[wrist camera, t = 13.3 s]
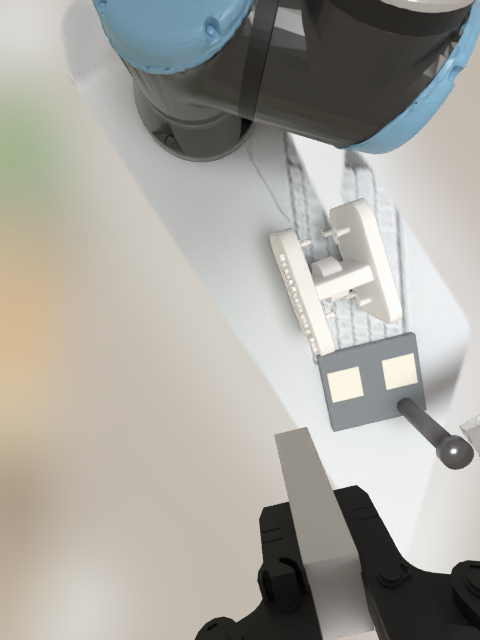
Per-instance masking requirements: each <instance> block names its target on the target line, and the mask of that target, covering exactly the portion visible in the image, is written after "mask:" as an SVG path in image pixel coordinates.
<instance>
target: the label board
mask: <svg viewBox="0 0 480 640" xmlns="http://www.w3.org/2000/svg"><path fill="white" fill-rule="evenodd" d="M317 359H318V364H319V369H320V373H321V378H322V383H323V388H324V392H325V397H326V402H327V406H328V411H329V416H330V421H331V425H332V429H333V431H334V432H336V431H340V430H344V429H348V428H352V427H357V426H361V425H365V424H369V423H374V422H378V421H382V420H386V419H390V418H395V417H399V416H404V417H405V418H406V419H407V420H408V421H409V422H410V423H411V424H412V425H413V426H414V427H415V428H416V429H417V430H418V431H419V432H420V433H421V434H422V435H423V436H424V437H425V438H426V439H427V440H428V441H429V442H430V443H431V444H432V445H433V446H434V447H435V448H436V449H437V446H438V444H439V442H440V441H441V440H442V439H444V438H445V437H448V436H451V435H450V434H449V433H448V432H447V431H446V430H445V429H444V428H442V427H441V426H440V425H439V424H438V423H437V422H436V421H434V420H433V419H432V418H431V417H430V416H429V415H428V414H426V413H425V412H424V410H426V404H425V397H424V390H423V384H422V377H421V370H420V363H419V356H418V349H417V342H416V336H415V334H414V333H412V332H411V333H407V334H403V335H399V336H394V337H390V338H386V339H382V340H378V341H374V342H370V343H366V344H362V345H358V346H353V347H349V348H345V349H341V350H337V351H334V352H331V353H329V354H326V355H323V356H320V355H317Z"/></svg>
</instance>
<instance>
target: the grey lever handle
mask: <svg viewBox="0 0 480 640" xmlns="http://www.w3.org/2000/svg"><path fill="white" fill-rule="evenodd" d="M460 428H461V430H462V432H463V434H464V436H465V438H466V439H467V441H468V442H467V441H465V440H464V439H463V438H462V437H460V436H456V435H451V436H448V437H445V438H444V439H442V440H441V441H440V442H439V444H438V446H437V449H436V454H437V456H438V458H439V459H440V460H441V461H442V462H443V463H444V464H445V465H446V466H447V467H448V468H450V469H454V470H456V469H461V468H464V467H466V466H467V465H469V464H470V462H471V461H472V459H473V457H474V455H475V456H476V457H477V458H478V459H479V460H480V415H478V416H476V417H474V418H472V419H471V420H469V421H467V422H465V423H463V424H462V425H460Z"/></svg>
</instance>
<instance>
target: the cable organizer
mask: <svg viewBox="0 0 480 640" xmlns="http://www.w3.org/2000/svg"><path fill="white" fill-rule="evenodd" d="M330 221H331V225H332V230H329V231H327V232H323V231H322V230H321V233H320V234H321V235H322V238H323V241H324V239H325V240H326V237H329V236H331V235H332V238H333V240H334V242H335V245H337V244H338V247H339V250H340V253H341V256H342V259H343V261H341V262H338V261H337V260H336V259H335V258H334V257H332V256H330V257H327V258H325V259H322V260H319V261H317V262H314V263H312V265H311V269H312V273H310V270H309V267H308V264H307V261H306V258H305V255H304V252H303V249H302V248H303V247H305V246H308V245H309V246H310V248H311V247H312V248H313V246H312V243H311V239H309V237H308V235H307V237H308V239H307V240H304V241H302V240H301V239H300V237H299V239H298V237H297V235H296V234H295V232H294V231H293V229H291V228H290V229H286V230H282V231H279V232H277V233H274V234H272V235H270V243H271V247H272V250H273V253H274V256H275V259H276V261H277V264H278V267H279V270H280V272H281V275H282V278H283V281H284V283H285V286H286V289H287V292H288V294H289V297H290V300H291V303H292V305H293V308H294V311H295V314H296V316H297V319H298V322H299V325H300V327H301V329H302V331H303V333H304V335H305V337H306V338H307V339H308V341H309V343H310V344H311V348H312V350H313V352H316V351H317V352H318V353H319V355H320V356H323V355H326V354H329V353H331V352H334V351H335V344H334V340H333V336H332V333H331V331H330V328H329V325H328V322H327V319H329V318H332V317H336V312H335V311H334V310H333V308H332V306H331V308H332V309H330V310H331V312H329V313H326V314H325V313H324V310H325V307H324V304H323V303H322V300H324V299H325V300H326V301H327V302H329V303H331V302H333V301H336V300H338V299H340V298H342V297H343V298H344V301H345V300H346V301H347V299H350V298H352V297H355V299H356V300H354V301H355V303H356V304H357V308H358V307H359V308H360V309H361V310H362V311H364V312H366V313H368V314H370V315H372V316H374V317H376V318H377V319H379V320H381V321H383V322H385V323H387V324H390V323H393V322H395V321H398V320H400V319H401V318H402V307H401V303H400V300H399V296H398V293H397V290H396V286H395V283H394V279H393V276H392V273H391V269H390V266H389V262H388V259H387V256H386V252H385V249H384V246H383V242H382V239H381V235H380V232H379V229H378V225H377V222H376V218H375V215H374V212H373V210H372V208H371V206H370V204H369V203H368V202H367V200H365V199H364V198H361V199H358V200H355V201H352V202H349V203H346V204H344V205H341V206H338V207H336V208H333V209H331V210H330ZM350 289H352V291H353V292H351V293H349V290H350ZM320 301H321V302H320ZM347 303H348V302H347ZM323 309H324V310H323ZM336 319H337V317H336Z"/></svg>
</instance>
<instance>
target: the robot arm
mask: <svg viewBox="0 0 480 640" xmlns="http://www.w3.org/2000/svg"><path fill="white" fill-rule="evenodd" d="M92 1H93V4H94V6H95V8H96V11H97V13H98V15H99V17H100V20H101V23H102V27H103V29H104V32H105V35H106V36H107V37H108V39H109V42H110V44H111V45H112V47H113V48H114V50H115V51H116V52H117V54H118V55H119V56H120V58H121V60H122V61H123V63H124V64H125V66H126V67H127V69H128V71H129V72H130V74H131V75H132V77H133V78H134V96H135V101H136V105H137V109H138V112H139V114H140V117H141V119H142V121H143V123H144V125H145V126H146V128H147V129H148V131H149V132H150V134H151V135H152V136H153V138H154V139H155V140H156V141H157V142H158V143H159V144H160V145H161V146H162V147H163V148H164V149H166V150H167V151H168V152H170V153H171V154H173V155H175V156H177V157H179V158H182V159H185V160H189V161H194V162H208V161H214V160H218V159H221V158H223V157H225V156H227V155H229V154H231V153H232V152H234V151H235V150H236V149H238V148H239V147H240V146H241V145H242V144H243V143H244V142H245V140H246V139H247V138H248V136H249V135H250V133H251V132H252V130H253V128H254V126H255V123H256V122H257V123H261V124H264V125H267V126H270V127H274V128H277V129H280V130H284V131H287V132H290V133H294V134H297V135H300V136H304V137H307V138H311V139H314V140H317V141H320V142H324V143H327V144H330V145H333V146H335V147H336V148H338V149H343V150H356V151H361V152H365V153H369V154H383V153H387V152H389V151H392V150H394V149H396V148H398V147H400V146H401V145H403V144H404V143H406V142H407V141H408V140H410V139H411V138H412V137H413V136H414V135H415V134H417V133H418V132H419V131H420V130H421V129H422V128H423V127H424V125H426V123H427V122H428V121H429V120H430V119H431V118H432V116H433V115H434V114H435V113H436V112H437V110H438V109H439V108H440V106H441V105H442V104H443V102H444V101H445V99H446V98H447V96H448V95H449V94H450V92H451V91H452V89H453V87H454V83H453V82H454V79H455V77H456V75H457V74H458V73H459V72H460V71H461V70H463V69H464V68H465V66H466V64H467V62H468V60H469V58H470V56H471V54H472V51H473V49H474V47H475V44H476V41H477V38H478V35H479V31H480V2H479V0H92ZM274 436H275V440H276V445H277V449H278V454H279V458H280V462H281V467H282V472H283V476H284V481H285V485H286V490H287V494H288V498H289V502H286V503H281V504H277V505H273V506H269V507H264V508H263V510H262V513H261V516H260V519H259V523H260V533H261V543H262V554H263V564H262V566H261V568H260V570H259V572H258V580H257V581H258V584H259V587H260V591H261V594H262V598H263V599H262V601H261V603H260V605H259V606H258V607H257V608H256V609H255V610H254V611H253V612H252V613H251V614H249V615H248V616H246V617H245V618H243V619H241V620H240V621H238V622H237V623H236V622H235V621H234V620H232V619H230V618H227V617H219V618H214V619H213V620H211V621H209V622H207V623H206V624H205V625H204V626H203V627H202V629H201V630H200V631H199V632H198V634H197V636H196V638H195V640H332V639H337V638H341V637H345V636H350V635H355V634H359V633H364V632H368V631H373V630H374V626H375V630H376V632H377V635H378V638H379V640H480V561H470V560H467V561H464V562H460V563H458V564H457V565H456V566H455V567H454V568H453V569H452V573H451V574H441V573H432V572H427V571H423V570H421V569H418V568H416V567H414V566H413V565H411V564H409V562H407V561H406V560H405V559H404V558H403V557H402V555H401V554H400V552H399V551H398V549H397V547H396V545H395V543H394V542H393V540H392V538H391V536H390V534H389V532H388V530H387V529H386V527H385V525H384V523H383V521H382V519H381V518H380V517H379V514H378V512H377V510H376V508H375V507H374V505H373V503H372V501H371V499H370V497H369V495H368V494H367V493H366V492H365V491H364V490H362V489H361V488H360V487H358V486H357V485H355V486H350V487H346V488H342V489H337V490H332V488H331V485H330V483H329V480H328V478H327V475H326V473H325V470H324V468H323V466H322V463H321V461H320V458H319V456H318V453H317V451H316V448H315V446H314V443H313V441H312V439H311V436H310V434H309V431H308V429H307V427H305V428H301V429H297V430H292V431H288V432H284V433H280V434H276V435H274ZM373 624H374V626H373Z"/></svg>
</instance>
